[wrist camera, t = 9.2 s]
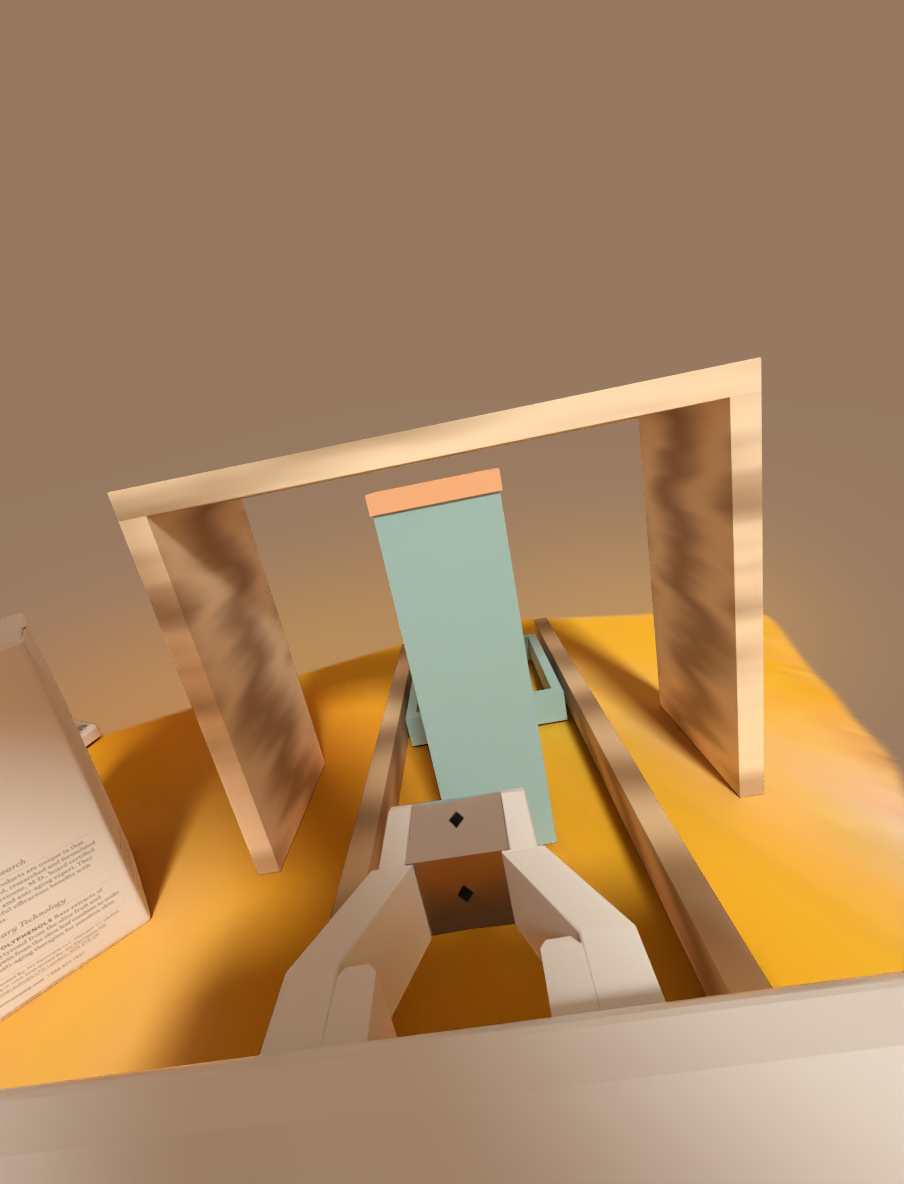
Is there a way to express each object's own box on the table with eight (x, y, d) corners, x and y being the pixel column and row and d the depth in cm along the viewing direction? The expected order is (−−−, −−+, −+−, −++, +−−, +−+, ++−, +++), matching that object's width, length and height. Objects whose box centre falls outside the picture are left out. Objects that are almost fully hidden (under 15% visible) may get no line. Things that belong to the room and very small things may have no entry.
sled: (619, 834, 22) (575, 453, 17) (395, 869, 22) (292, 510, 18) (538, 654, 42) (507, 457, 37) (421, 675, 43) (376, 484, 38)
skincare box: (-2, 917, 25) (-161, 659, 21) (137, 837, 29) (28, 608, 25) (-16, 1041, 19) (-248, 709, 14) (163, 918, 23) (23, 630, 18)
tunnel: (1012, 1056, 13) (1192, 212, 7) (120, 1171, 14) (-297, 529, 9) (609, 630, 45) (587, 415, 39) (350, 677, 46) (293, 475, 41)
